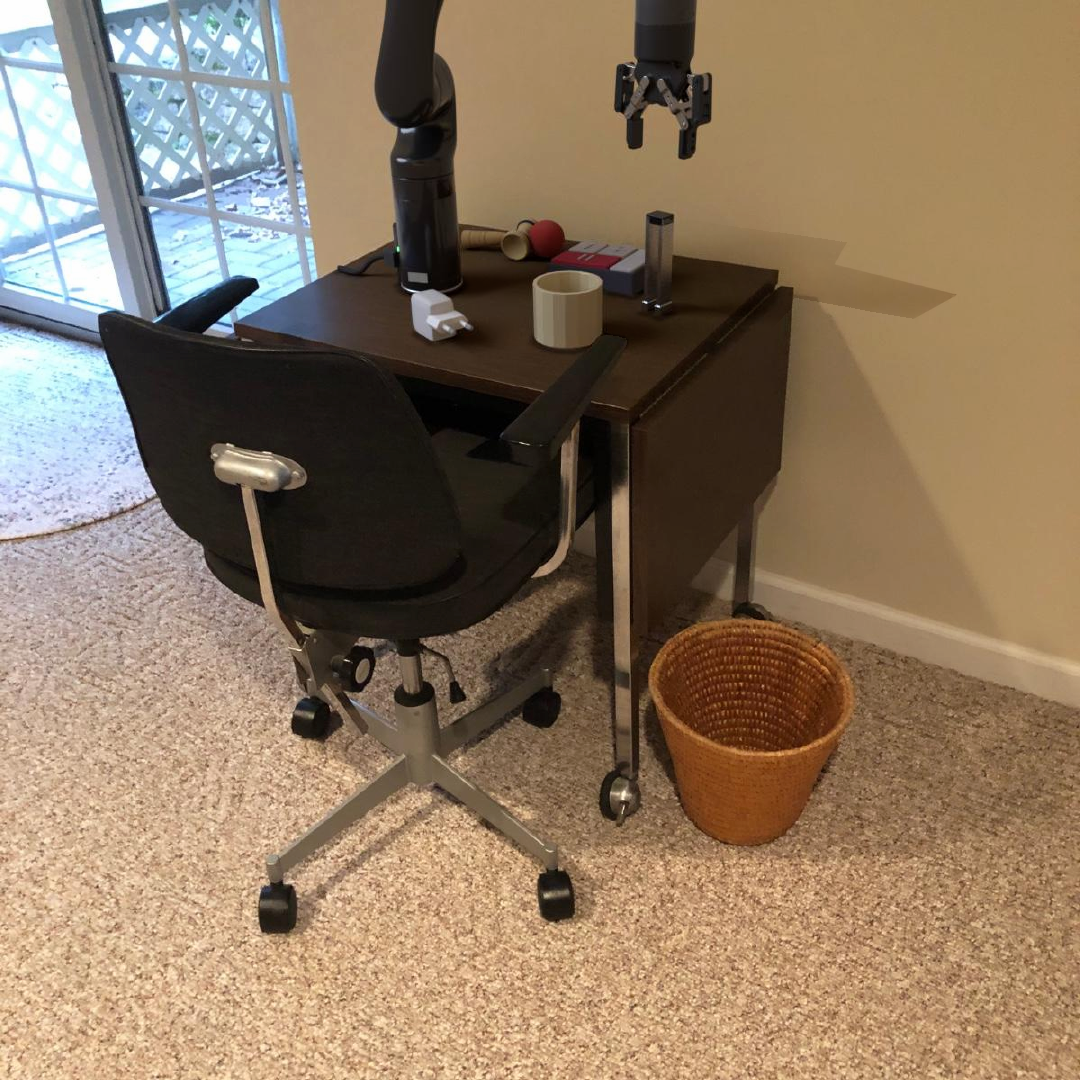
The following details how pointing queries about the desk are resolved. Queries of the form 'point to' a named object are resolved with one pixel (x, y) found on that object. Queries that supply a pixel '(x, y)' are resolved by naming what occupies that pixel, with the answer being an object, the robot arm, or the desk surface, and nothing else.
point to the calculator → (605, 265)
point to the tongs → (658, 262)
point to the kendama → (521, 239)
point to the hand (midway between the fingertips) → (659, 153)
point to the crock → (567, 308)
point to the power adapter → (436, 315)
